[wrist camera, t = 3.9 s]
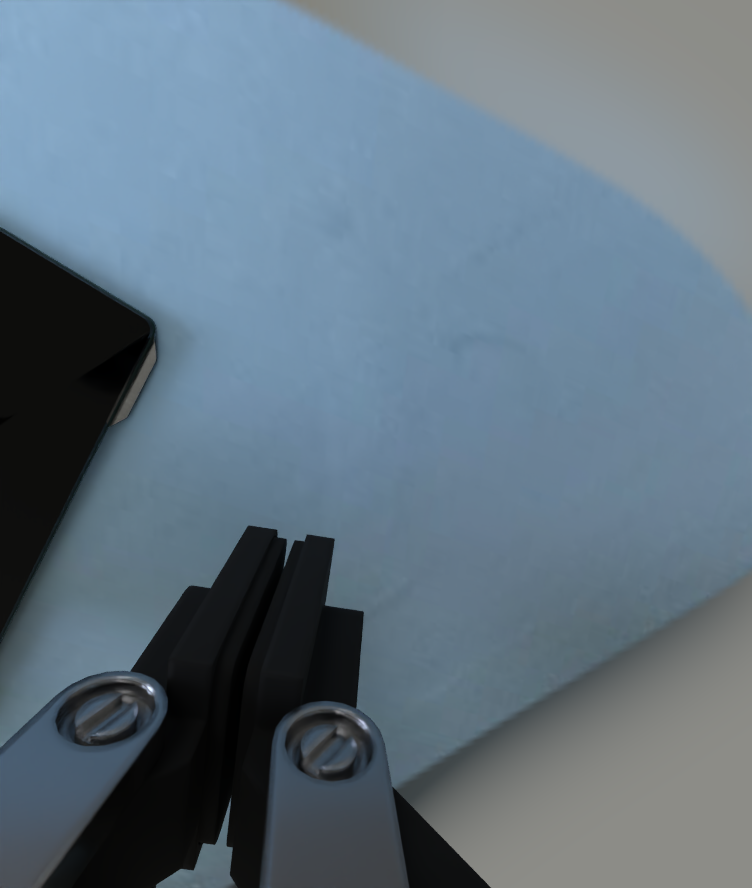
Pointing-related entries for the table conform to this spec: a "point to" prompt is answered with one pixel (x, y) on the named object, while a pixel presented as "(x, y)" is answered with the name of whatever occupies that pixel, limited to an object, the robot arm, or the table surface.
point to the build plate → (55, 397)
